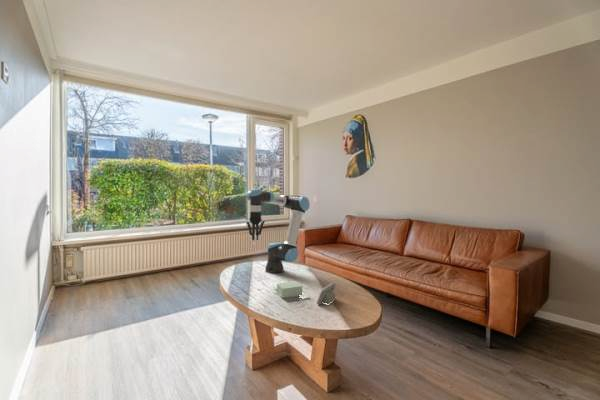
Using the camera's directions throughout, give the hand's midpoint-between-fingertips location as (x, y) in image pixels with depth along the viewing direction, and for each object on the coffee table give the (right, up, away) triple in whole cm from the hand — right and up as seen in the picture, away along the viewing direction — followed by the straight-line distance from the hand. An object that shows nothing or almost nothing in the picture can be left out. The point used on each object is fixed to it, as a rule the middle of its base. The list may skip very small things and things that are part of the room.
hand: (254, 244), depth 199 cm
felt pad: (+26, -31, -10) cm, 42 cm away
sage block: (+18, -28, -14) cm, 36 cm away
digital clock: (+48, -33, -20) cm, 61 cm away
